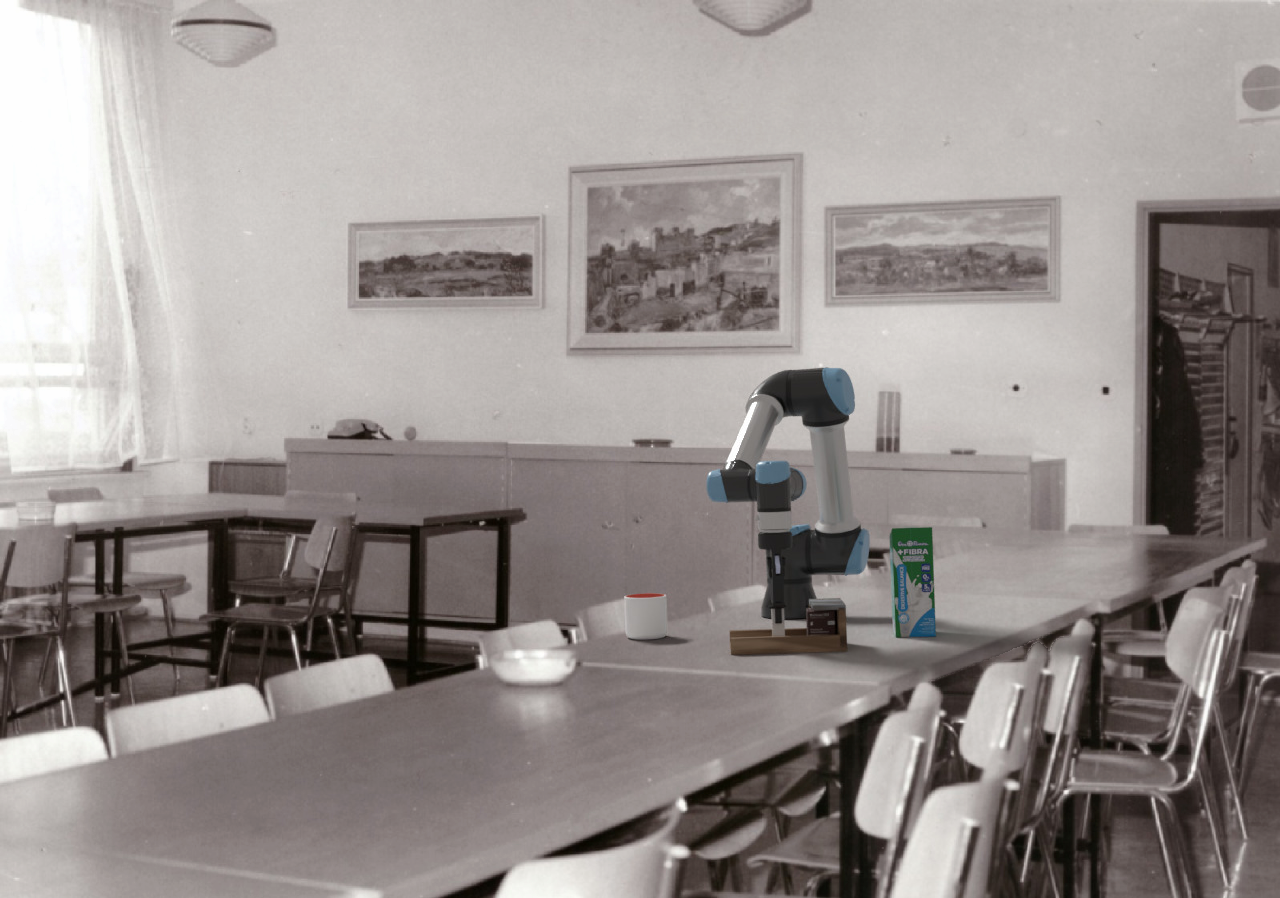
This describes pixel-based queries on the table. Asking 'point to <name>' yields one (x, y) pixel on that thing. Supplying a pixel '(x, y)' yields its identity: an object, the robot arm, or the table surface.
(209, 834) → the table surface
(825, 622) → the box
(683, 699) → the table surface
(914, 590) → the milk carton
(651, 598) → the cup
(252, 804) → the table surface
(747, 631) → the channel
